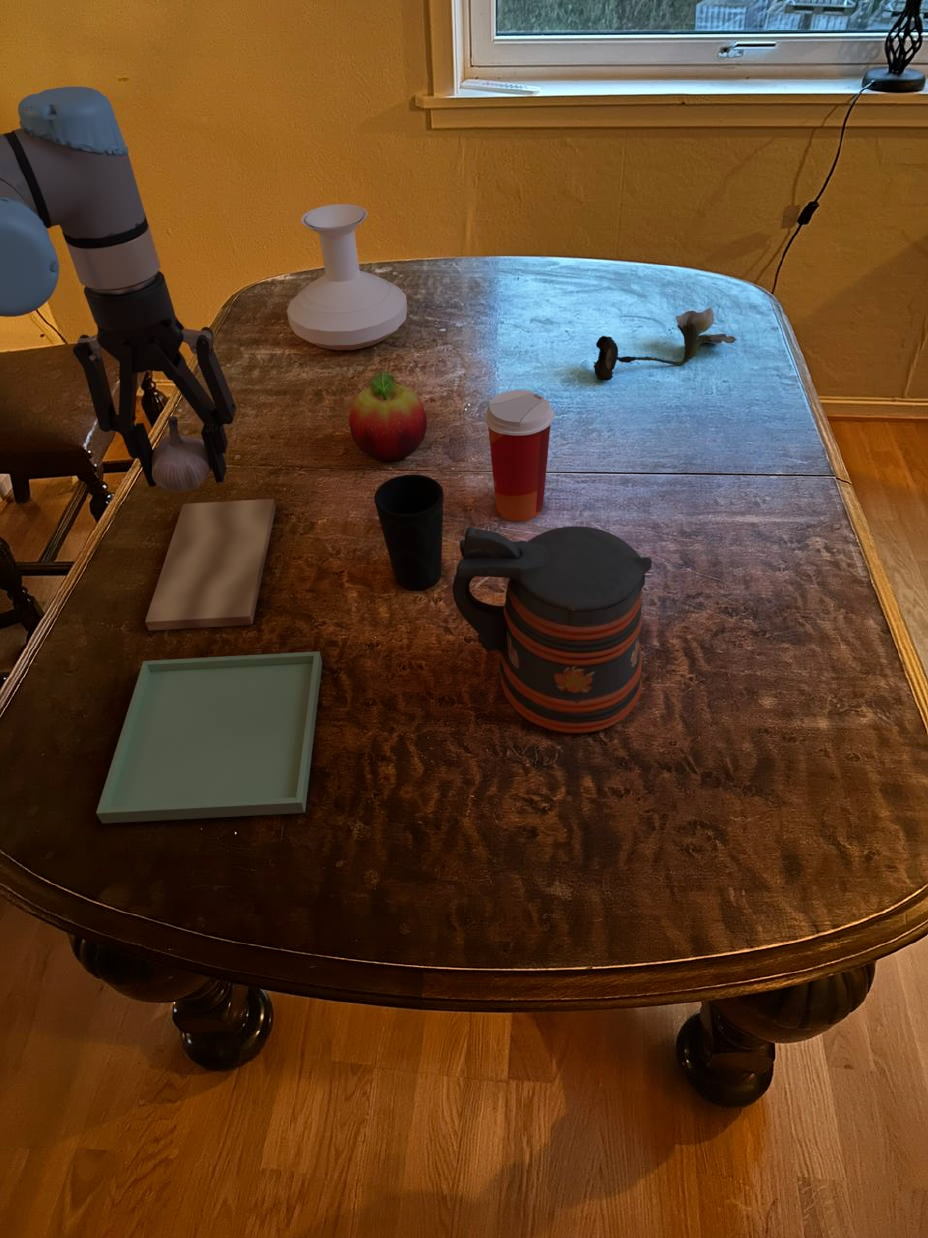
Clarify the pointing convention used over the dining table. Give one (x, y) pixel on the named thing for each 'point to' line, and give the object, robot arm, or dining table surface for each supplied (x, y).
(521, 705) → the beer stein
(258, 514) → the cutting board
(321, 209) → the white vase
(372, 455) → the fruit
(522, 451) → the coffee cup
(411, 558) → the cup
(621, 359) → the artificial flower
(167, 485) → the garlic bulb
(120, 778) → the green square tray
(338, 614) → the dining table surface
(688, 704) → the dining table surface
